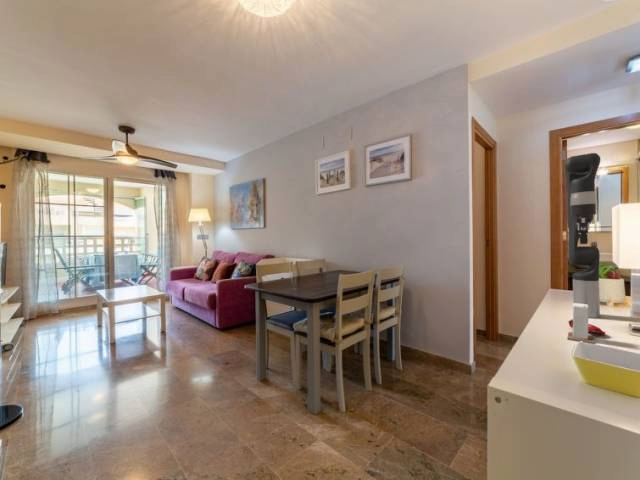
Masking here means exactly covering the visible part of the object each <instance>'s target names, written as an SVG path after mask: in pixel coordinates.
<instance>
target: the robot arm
mask: <svg viewBox="0 0 640 480" xmlns="http://www.w3.org/2000/svg"><path fill="white" fill-rule="evenodd" d="M600 164H601V156H600V154H598V153H596V152H590V153H584V154H579V155H572V156H569V157H567V159H566V160H565V162H564V177H565V187H566V195H567V196H566V200H567V201H566V203H567V204H566V210H567V211H566V212H567V213H566V214H567V215H566V216H567V229H568V244H567V245H568V249H567V259H568V262H569V264H570V265H571V266H587V268H586V269H584V270H581V271H577V272H574V273H573V274H572V292H573V293H572V297H573V298H572V301H573V303H572V304H573V305H574V303H579V304H588V318H596V319H598V318H601V307H600V306H601V302H600V259H601V258H600V249H599V248H598V247H597V246H591V245H590V246H587V244H588V240H589V239H588V234H589V230H590V225H591V224H592V222H593V220H594V216H595V215H596V214H597V202H596V201H597V199H596V192H595V187H596V186H595V183H596V182H595V180H596V175H597V172H598V169H599V166H600ZM578 243H579V244H581V245H586V246H581V245H579V246H578ZM573 305H572V306H573Z"/></svg>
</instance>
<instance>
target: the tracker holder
mask: <svg viewBox="0 0 640 480" xmlns="http://www.w3.org/2000/svg"><path fill="white" fill-rule="evenodd" d="M567 323H568V325H569V327H570V328H571V329H573V318H571V319H569V320H567ZM589 332H596V333H598V334H601V335H606V331H603V330H602V329H601V328H600V327H598V326H596V325H593V324H591V323H588V333H589Z"/></svg>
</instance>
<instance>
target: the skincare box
mask: <svg viewBox="0 0 640 480" xmlns="http://www.w3.org/2000/svg"><path fill="white" fill-rule="evenodd" d="M572 308H573V311H572V319H573V328H572V332H573V337H575V338H580V339H588V335H589V332H588V324H589V317H588V304H579V303H574V305H572Z"/></svg>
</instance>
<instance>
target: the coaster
mask: <svg viewBox="0 0 640 480" xmlns="http://www.w3.org/2000/svg"><path fill="white" fill-rule="evenodd" d="M567 340H569V341H575V342H580V341H583V342H582V343H585V342H589V343H588V344H590V343H593V344H594V335H593V334H588V339H580V338H575V337H573V331H568V333H567ZM580 343H581V342H580Z"/></svg>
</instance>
